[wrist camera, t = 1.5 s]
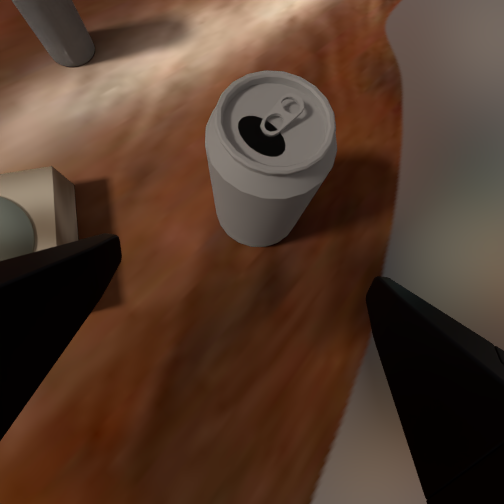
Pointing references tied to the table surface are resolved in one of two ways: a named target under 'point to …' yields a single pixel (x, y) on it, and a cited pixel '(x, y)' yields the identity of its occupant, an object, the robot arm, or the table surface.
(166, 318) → the table surface
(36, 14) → the grey cylinder
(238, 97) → the can
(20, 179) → the pedestal
